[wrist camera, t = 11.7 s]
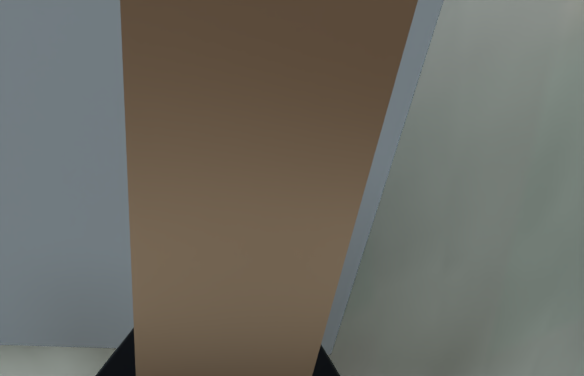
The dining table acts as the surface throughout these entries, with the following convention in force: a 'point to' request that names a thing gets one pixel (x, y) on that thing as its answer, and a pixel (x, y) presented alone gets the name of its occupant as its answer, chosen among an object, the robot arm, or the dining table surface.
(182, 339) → the scraper bar
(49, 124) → the platform
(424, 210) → the dining table surface
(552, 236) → the dining table surface
